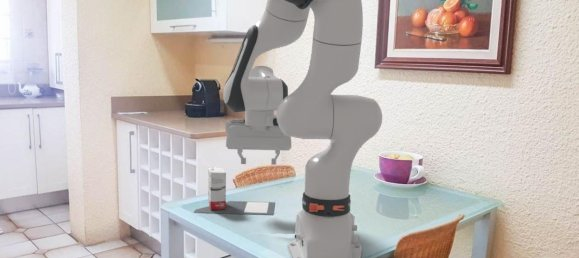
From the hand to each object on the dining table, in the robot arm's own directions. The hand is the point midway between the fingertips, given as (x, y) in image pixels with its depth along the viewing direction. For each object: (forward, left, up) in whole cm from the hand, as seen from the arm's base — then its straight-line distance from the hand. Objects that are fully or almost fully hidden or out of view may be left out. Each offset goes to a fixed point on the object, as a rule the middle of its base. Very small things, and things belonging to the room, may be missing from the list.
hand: (258, 164), depth 143 cm
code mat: (0, +7, -14) cm, 16 cm away
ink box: (0, +13, -14) cm, 19 cm away
